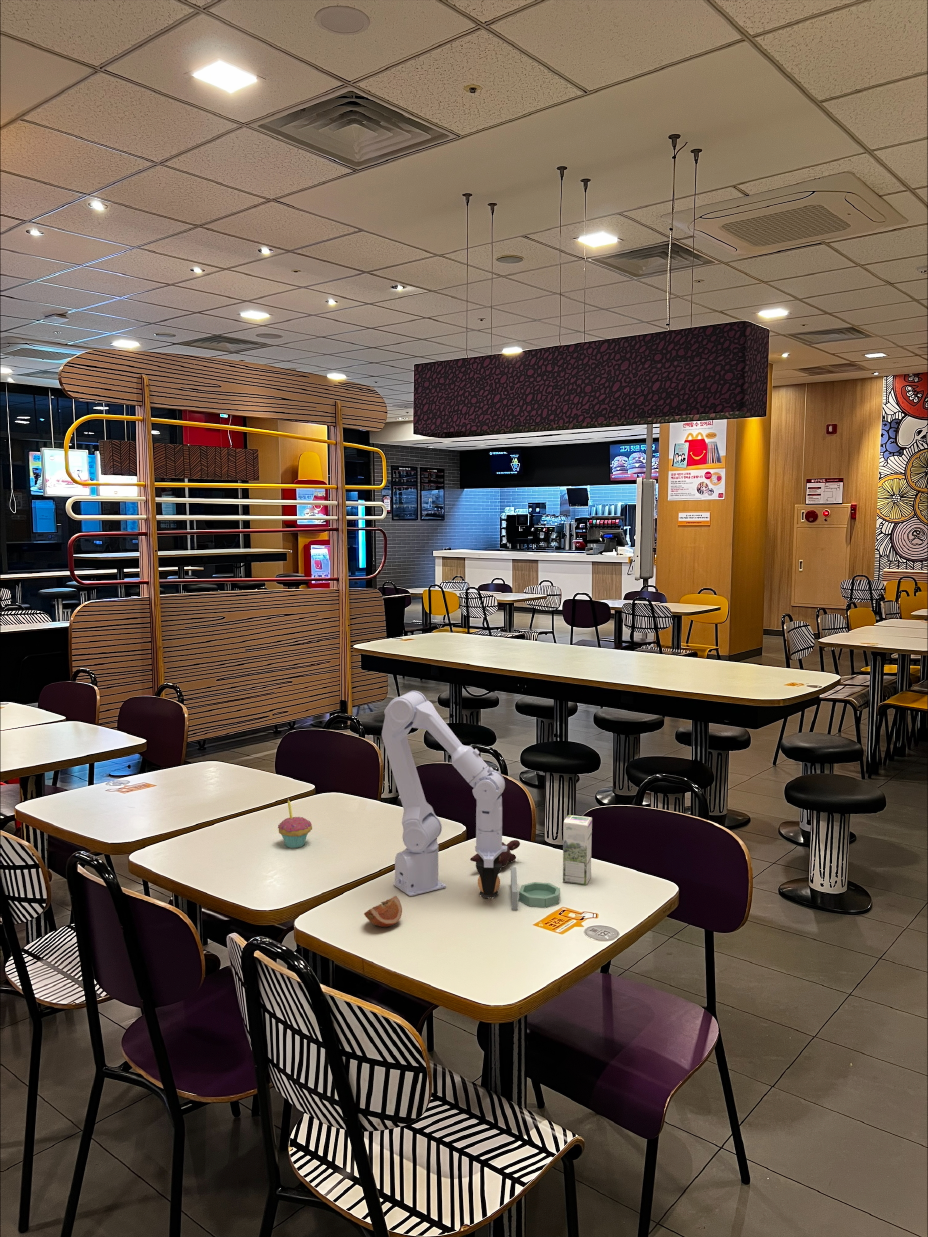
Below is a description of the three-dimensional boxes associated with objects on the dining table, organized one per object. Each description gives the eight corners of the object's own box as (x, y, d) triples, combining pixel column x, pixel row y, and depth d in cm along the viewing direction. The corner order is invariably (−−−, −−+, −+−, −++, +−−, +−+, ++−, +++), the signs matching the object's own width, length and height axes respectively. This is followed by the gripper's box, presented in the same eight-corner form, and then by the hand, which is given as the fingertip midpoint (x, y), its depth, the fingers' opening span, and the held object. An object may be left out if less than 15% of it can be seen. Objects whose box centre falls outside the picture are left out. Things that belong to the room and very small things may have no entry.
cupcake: (271, 847, 224) (271, 801, 223) (290, 837, 232) (289, 792, 231) (300, 852, 221) (300, 805, 220) (318, 841, 229) (318, 796, 228)
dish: (535, 910, 187) (535, 901, 187) (512, 896, 194) (512, 887, 194) (567, 901, 192) (567, 892, 191) (543, 888, 199) (543, 879, 199)
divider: (517, 910, 187) (517, 891, 187) (511, 910, 187) (511, 891, 187) (516, 884, 201) (516, 867, 201) (510, 884, 201) (510, 867, 201)
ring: (486, 899, 193) (486, 896, 193) (476, 893, 196) (476, 890, 196) (501, 895, 195) (501, 892, 195) (491, 889, 198) (491, 887, 198)
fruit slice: (380, 937, 175) (380, 912, 174) (356, 927, 179) (355, 904, 178) (408, 922, 181) (408, 899, 181) (384, 914, 185) (384, 891, 185)
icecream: (483, 854, 202) (530, 845, 212) (464, 838, 208) (511, 830, 217) (476, 881, 204) (523, 871, 214) (457, 864, 209) (504, 855, 219)
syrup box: (591, 876, 206) (592, 816, 204) (586, 886, 200) (587, 824, 199) (567, 873, 208) (568, 813, 206) (562, 883, 202) (562, 821, 201)
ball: (485, 899, 192) (485, 877, 191) (473, 891, 196) (473, 870, 196) (504, 894, 195) (504, 872, 194) (491, 887, 199) (491, 865, 198)
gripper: (507, 839, 187) (507, 901, 188) (506, 817, 201) (506, 875, 202) (474, 838, 187) (474, 900, 188) (476, 817, 201) (475, 874, 202)
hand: (488, 887), depth 195 cm, fingers open, 7 cm apart
